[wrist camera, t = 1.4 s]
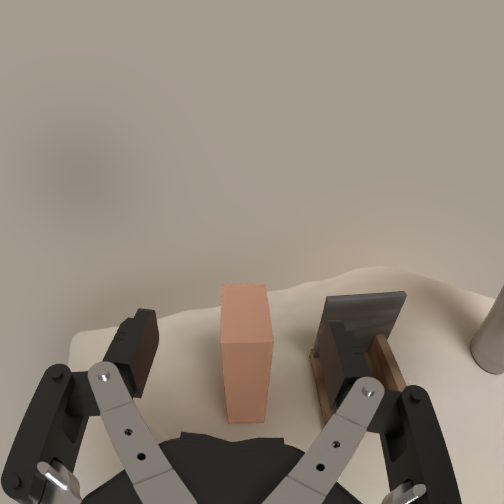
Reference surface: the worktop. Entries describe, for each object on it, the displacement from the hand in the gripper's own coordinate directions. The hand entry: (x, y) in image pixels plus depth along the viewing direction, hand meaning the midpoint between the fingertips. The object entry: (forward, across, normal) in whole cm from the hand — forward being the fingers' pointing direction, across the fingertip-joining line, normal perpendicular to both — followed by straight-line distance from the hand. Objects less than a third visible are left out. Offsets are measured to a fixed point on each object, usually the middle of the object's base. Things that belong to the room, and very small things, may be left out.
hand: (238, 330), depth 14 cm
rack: (+12, -15, +20) cm, 28 cm away
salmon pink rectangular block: (+11, -1, +21) cm, 24 cm away
